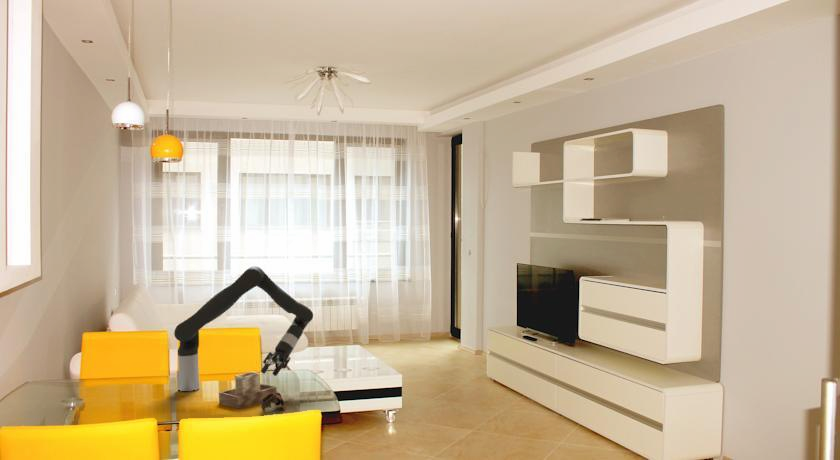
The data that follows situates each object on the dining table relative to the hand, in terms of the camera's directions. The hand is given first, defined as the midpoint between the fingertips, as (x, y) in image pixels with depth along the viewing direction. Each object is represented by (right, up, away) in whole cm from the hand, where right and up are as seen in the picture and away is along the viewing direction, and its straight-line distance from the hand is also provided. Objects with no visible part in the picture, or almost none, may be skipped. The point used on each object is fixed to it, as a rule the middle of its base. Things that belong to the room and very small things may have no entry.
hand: (268, 373), depth 299 cm
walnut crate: (-7, -10, -9) cm, 15 cm away
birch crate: (-7, -9, -8) cm, 14 cm away
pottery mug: (+8, -10, -23) cm, 27 cm away
